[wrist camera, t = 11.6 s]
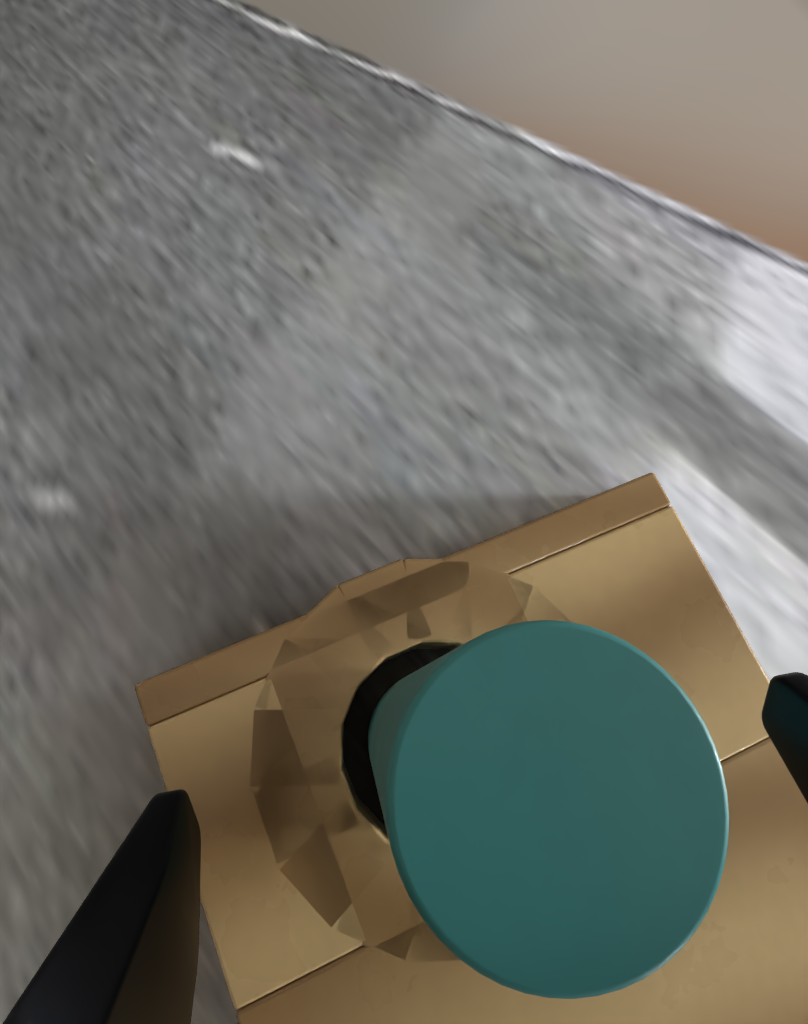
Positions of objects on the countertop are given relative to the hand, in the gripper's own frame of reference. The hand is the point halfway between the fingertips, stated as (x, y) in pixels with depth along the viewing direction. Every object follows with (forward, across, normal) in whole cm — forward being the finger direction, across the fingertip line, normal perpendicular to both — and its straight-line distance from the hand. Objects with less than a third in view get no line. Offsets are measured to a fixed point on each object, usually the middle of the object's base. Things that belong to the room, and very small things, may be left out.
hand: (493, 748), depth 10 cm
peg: (+5, 0, +5) cm, 7 cm away
